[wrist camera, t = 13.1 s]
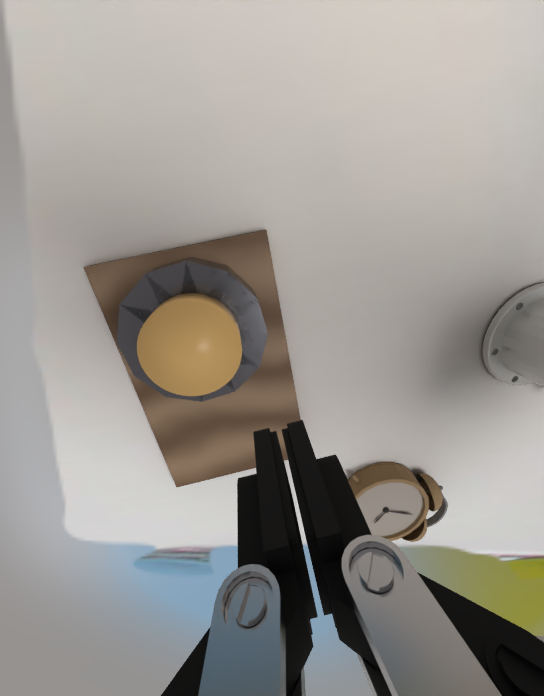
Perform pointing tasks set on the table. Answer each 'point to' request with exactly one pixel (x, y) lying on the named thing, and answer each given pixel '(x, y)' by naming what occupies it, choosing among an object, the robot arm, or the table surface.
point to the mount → (227, 410)
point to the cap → (190, 345)
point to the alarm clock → (397, 500)
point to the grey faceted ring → (201, 280)
